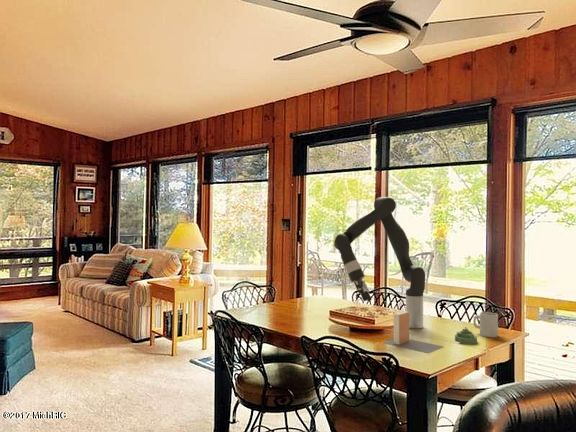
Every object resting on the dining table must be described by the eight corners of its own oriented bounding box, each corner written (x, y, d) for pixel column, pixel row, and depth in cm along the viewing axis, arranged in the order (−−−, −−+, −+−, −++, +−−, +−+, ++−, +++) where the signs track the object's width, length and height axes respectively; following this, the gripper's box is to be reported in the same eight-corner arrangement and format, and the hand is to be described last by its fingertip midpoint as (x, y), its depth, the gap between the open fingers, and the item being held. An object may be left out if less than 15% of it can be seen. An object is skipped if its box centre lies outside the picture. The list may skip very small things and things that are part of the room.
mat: (381, 344, 219) (381, 342, 219) (398, 338, 230) (398, 336, 230) (428, 354, 202) (428, 353, 202) (444, 347, 213) (444, 346, 213)
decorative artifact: (480, 341, 224) (461, 337, 231) (480, 327, 224) (461, 323, 231) (470, 345, 217) (451, 341, 224) (470, 330, 217) (450, 327, 224)
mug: (500, 335, 235) (500, 313, 235) (494, 338, 229) (494, 316, 229) (476, 331, 244) (476, 310, 244) (470, 334, 237) (470, 312, 237)
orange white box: (393, 343, 218) (393, 313, 218) (403, 339, 224) (403, 310, 224) (399, 344, 216) (399, 314, 216) (409, 341, 222) (409, 311, 222)
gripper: (357, 266, 227) (371, 297, 222) (364, 268, 240) (377, 297, 235) (344, 273, 229) (357, 303, 224) (351, 274, 242) (364, 303, 237)
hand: (367, 300), depth 230 cm, fingers open, 8 cm apart
